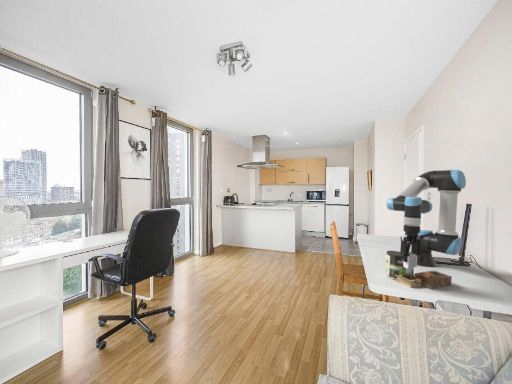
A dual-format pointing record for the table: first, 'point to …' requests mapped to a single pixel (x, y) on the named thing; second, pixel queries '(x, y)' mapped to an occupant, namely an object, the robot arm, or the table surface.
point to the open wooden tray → (409, 281)
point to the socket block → (434, 279)
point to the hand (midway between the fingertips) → (409, 266)
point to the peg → (410, 267)
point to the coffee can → (394, 264)
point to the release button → (426, 274)
